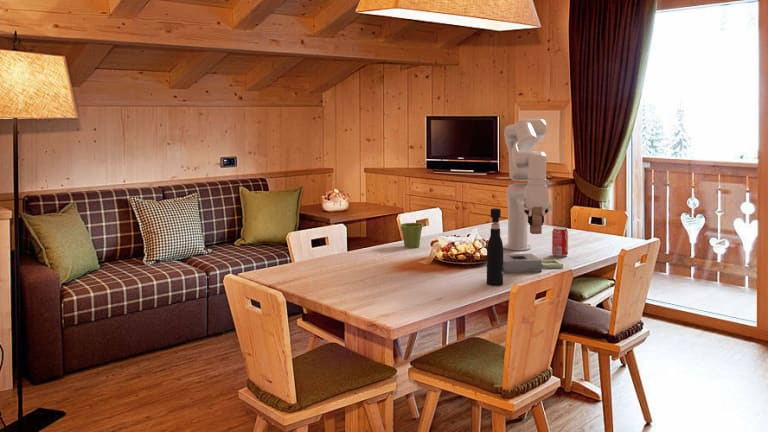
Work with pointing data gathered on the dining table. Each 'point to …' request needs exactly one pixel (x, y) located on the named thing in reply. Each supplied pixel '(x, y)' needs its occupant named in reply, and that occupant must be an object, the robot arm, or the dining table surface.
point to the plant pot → (411, 234)
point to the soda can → (560, 241)
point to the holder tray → (551, 264)
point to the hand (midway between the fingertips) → (535, 224)
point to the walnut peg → (536, 221)
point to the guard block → (521, 263)
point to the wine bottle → (495, 252)
